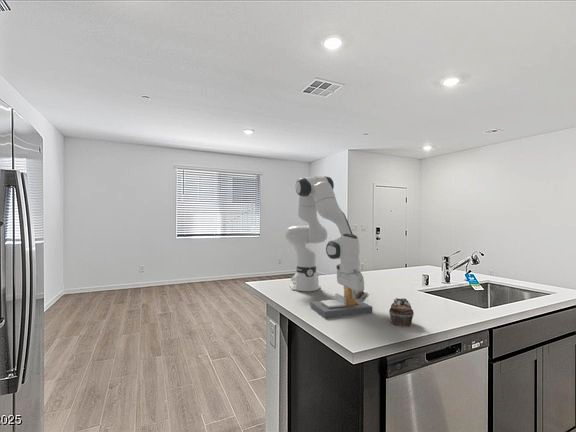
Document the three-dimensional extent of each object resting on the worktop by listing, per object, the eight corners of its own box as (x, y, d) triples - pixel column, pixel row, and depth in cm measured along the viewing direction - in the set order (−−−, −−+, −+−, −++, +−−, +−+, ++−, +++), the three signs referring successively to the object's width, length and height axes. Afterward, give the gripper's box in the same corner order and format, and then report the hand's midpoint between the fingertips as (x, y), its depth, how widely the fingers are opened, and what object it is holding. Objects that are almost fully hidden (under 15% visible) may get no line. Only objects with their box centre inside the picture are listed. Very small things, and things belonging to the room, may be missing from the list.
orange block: (344, 306, 145) (344, 286, 145) (351, 306, 146) (351, 285, 146) (348, 309, 141) (348, 287, 141) (355, 308, 142) (355, 287, 143)
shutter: (320, 302, 144) (320, 295, 144) (337, 300, 147) (337, 293, 147) (328, 307, 136) (328, 299, 136) (346, 306, 138) (346, 298, 138)
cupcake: (385, 319, 130) (385, 296, 130) (407, 319, 130) (407, 296, 130) (394, 327, 120) (394, 302, 120) (418, 327, 121) (418, 302, 121)
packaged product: (361, 293, 156) (342, 291, 161) (361, 303, 156) (342, 300, 161) (367, 286, 173) (350, 284, 177) (367, 295, 173) (350, 293, 177)
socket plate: (310, 308, 146) (310, 301, 146) (354, 303, 154) (354, 297, 154) (324, 318, 131) (324, 311, 131) (372, 313, 138) (372, 306, 138)
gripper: (367, 271, 135) (367, 302, 135) (345, 264, 154) (345, 291, 154) (355, 272, 133) (355, 303, 133) (334, 265, 153) (334, 292, 153)
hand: (350, 296), depth 144 cm, fingers closed on orange block, 4 cm apart
